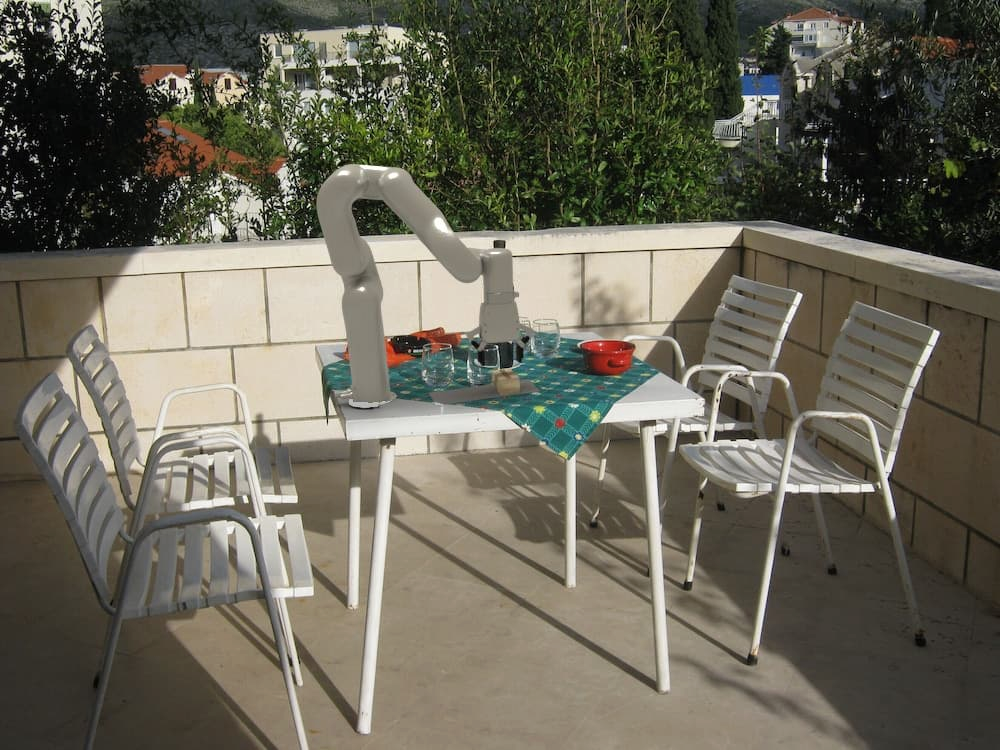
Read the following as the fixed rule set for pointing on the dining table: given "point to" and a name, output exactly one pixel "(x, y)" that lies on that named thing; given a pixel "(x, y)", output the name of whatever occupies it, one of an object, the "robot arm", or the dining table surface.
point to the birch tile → (505, 381)
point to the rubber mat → (478, 393)
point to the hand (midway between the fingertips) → (500, 363)
